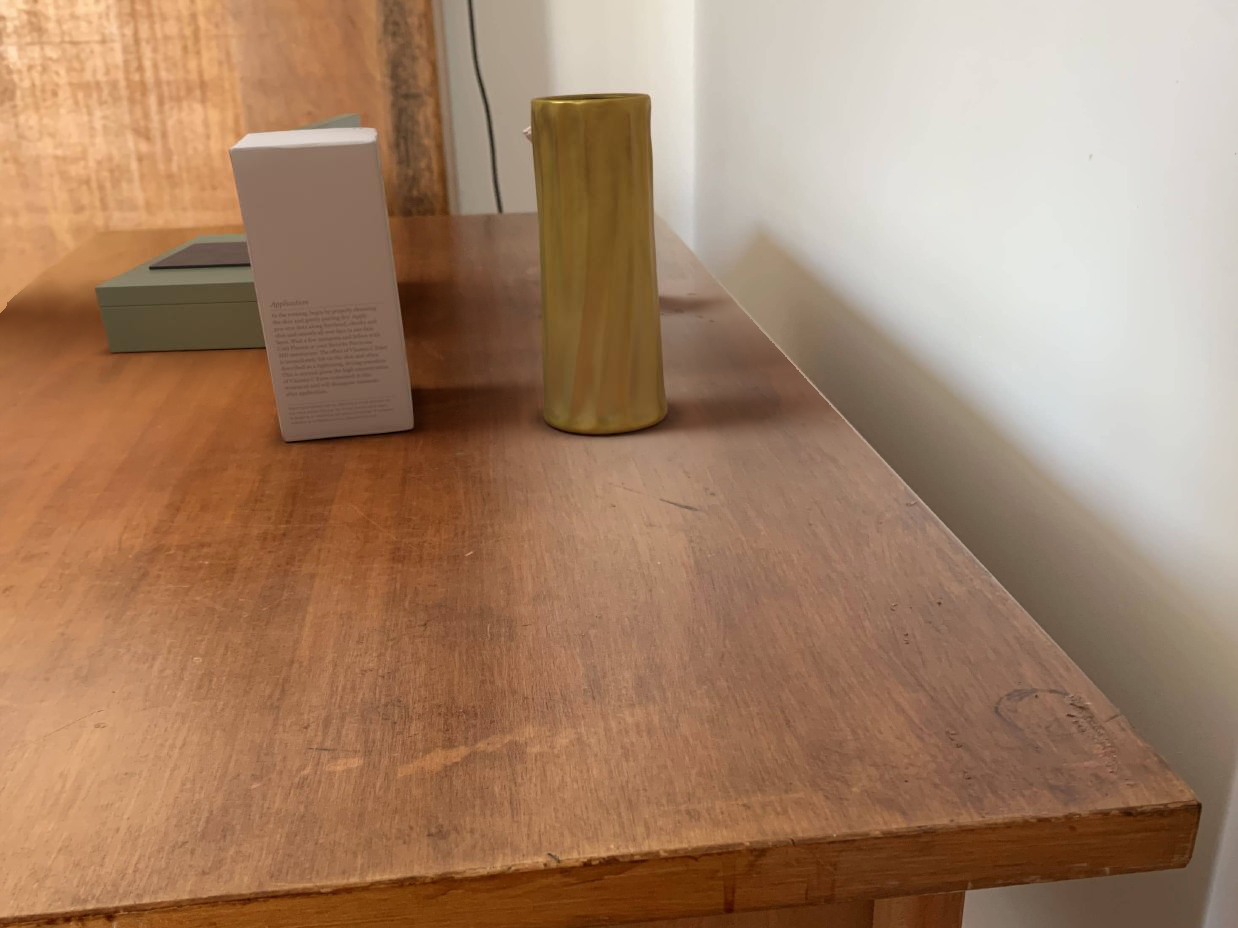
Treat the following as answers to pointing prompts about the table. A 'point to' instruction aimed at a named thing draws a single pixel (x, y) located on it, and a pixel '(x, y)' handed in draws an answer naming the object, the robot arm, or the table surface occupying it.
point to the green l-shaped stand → (190, 293)
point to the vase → (598, 262)
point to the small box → (325, 280)
